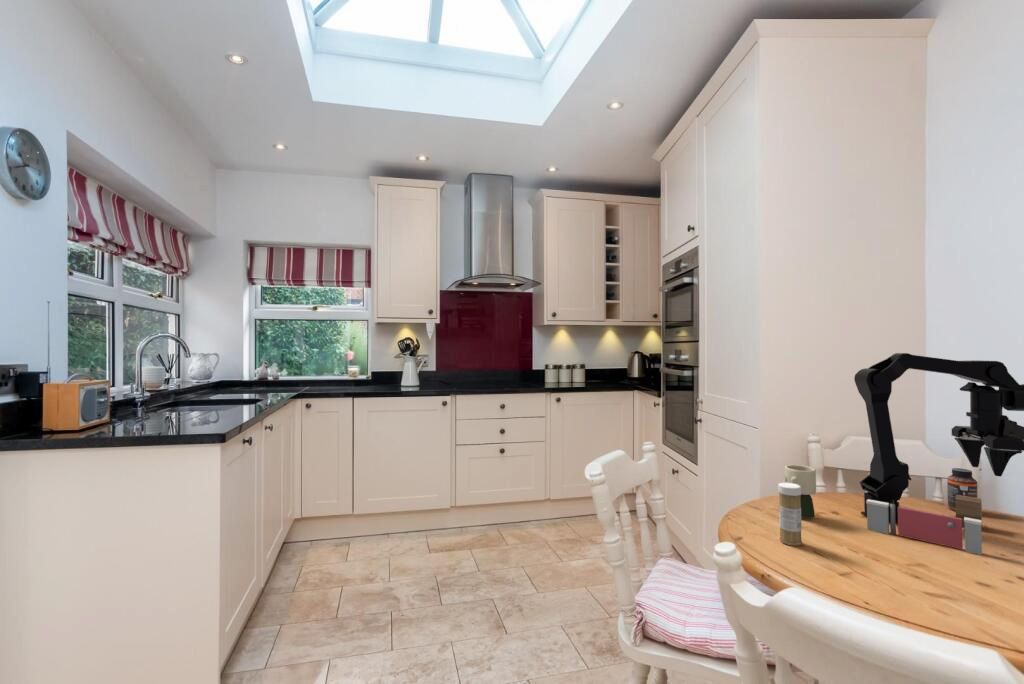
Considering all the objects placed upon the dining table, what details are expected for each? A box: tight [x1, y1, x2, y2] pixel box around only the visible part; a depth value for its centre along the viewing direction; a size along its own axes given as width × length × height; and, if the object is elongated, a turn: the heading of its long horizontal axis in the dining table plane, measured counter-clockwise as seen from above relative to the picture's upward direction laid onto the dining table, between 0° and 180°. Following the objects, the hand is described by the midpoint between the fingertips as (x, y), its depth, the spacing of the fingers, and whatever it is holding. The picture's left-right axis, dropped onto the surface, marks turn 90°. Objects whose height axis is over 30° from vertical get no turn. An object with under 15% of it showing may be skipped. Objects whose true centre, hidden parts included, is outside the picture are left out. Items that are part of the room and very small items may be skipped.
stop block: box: [955, 495, 983, 532], centre depth 116 cm, size 4×4×7 cm
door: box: [897, 506, 964, 550], centre depth 107 cm, size 11×2×6 cm, turn 43°
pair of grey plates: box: [866, 499, 983, 556], centre depth 108 cm, size 20×2×7 cm, turn 43°
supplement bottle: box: [946, 467, 978, 512], centre depth 127 cm, size 6×6×11 cm
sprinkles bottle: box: [777, 482, 803, 547], centre depth 107 cm, size 5×5×14 cm
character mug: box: [784, 464, 817, 519], centre depth 124 cm, size 11×7×13 cm, turn 129°
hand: (986, 471), depth 117 cm, fingers open, 9 cm apart
